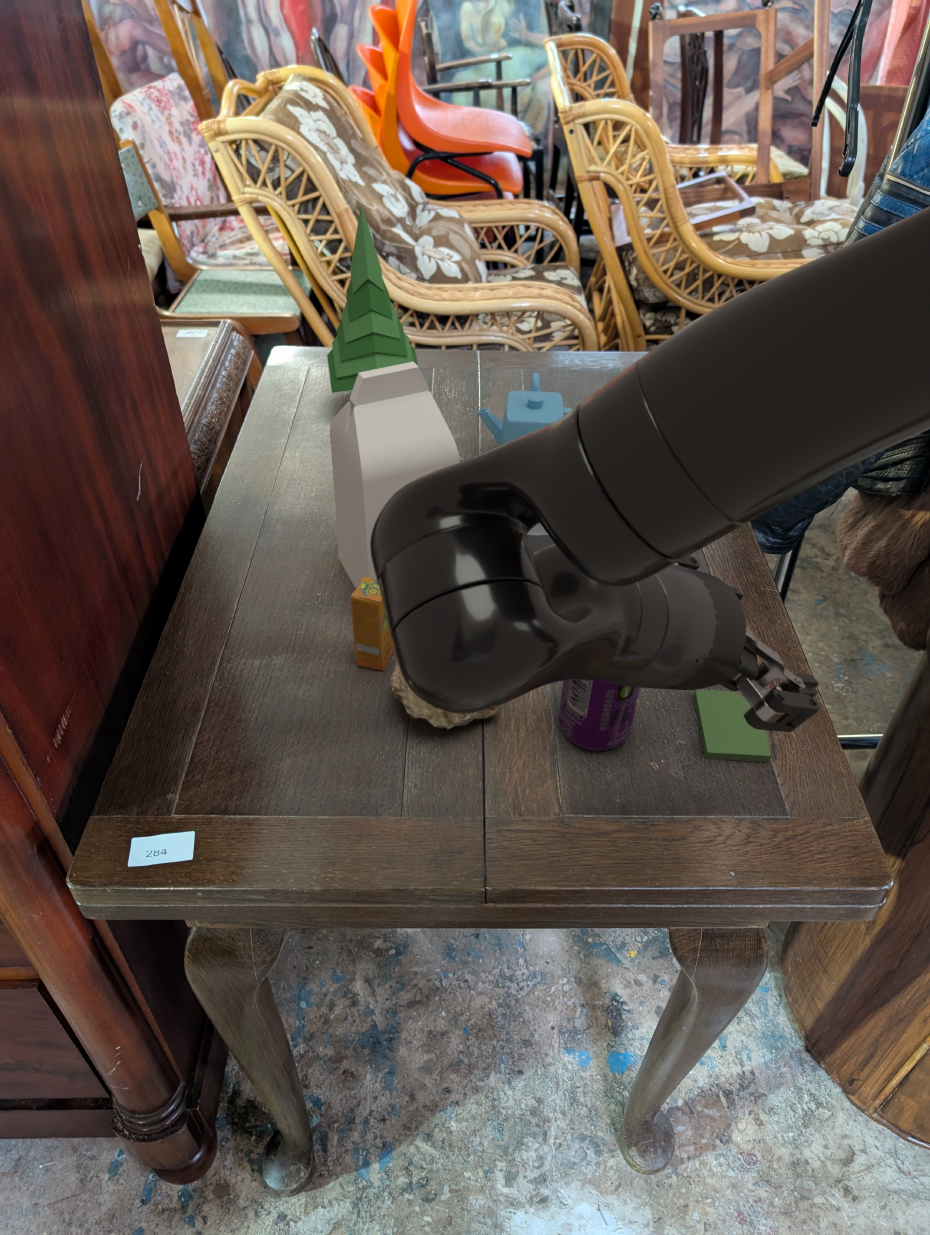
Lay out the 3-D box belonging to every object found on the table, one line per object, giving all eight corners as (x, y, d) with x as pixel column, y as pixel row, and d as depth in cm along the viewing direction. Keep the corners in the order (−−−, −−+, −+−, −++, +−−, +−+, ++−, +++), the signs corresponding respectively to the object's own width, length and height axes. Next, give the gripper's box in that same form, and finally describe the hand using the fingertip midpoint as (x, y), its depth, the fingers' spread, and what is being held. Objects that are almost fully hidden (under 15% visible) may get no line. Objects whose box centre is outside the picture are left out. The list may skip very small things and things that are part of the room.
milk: (372, 617, 90) (350, 407, 72) (339, 559, 98) (312, 357, 80) (467, 588, 94) (469, 382, 76) (429, 535, 101) (422, 336, 84)
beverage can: (634, 755, 76) (655, 669, 68) (560, 754, 76) (572, 668, 68) (624, 699, 81) (643, 613, 73) (555, 698, 81) (565, 612, 73)
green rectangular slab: (768, 762, 75) (771, 755, 75) (705, 758, 76) (707, 752, 75) (752, 698, 81) (755, 692, 80) (693, 695, 81) (695, 689, 81)
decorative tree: (351, 383, 132) (331, 184, 111) (439, 399, 128) (435, 195, 108) (312, 421, 122) (283, 211, 102) (406, 439, 119) (395, 225, 98)
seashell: (490, 752, 80) (509, 659, 83) (493, 736, 73) (514, 636, 77) (381, 728, 80) (405, 638, 84) (375, 710, 74) (401, 613, 78)
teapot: (576, 497, 108) (584, 431, 101) (473, 492, 108) (474, 426, 101) (573, 430, 121) (580, 368, 114) (481, 426, 122) (482, 364, 115)
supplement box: (385, 673, 84) (379, 602, 77) (355, 666, 84) (346, 595, 78) (396, 651, 86) (391, 581, 79) (367, 645, 87) (359, 574, 80)
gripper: (780, 677, 41) (877, 686, 53) (630, 498, 49) (744, 541, 61) (679, 761, 45) (791, 753, 57) (554, 582, 52) (675, 607, 64)
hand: (767, 643), depth 59 cm, fingers open, 8 cm apart
